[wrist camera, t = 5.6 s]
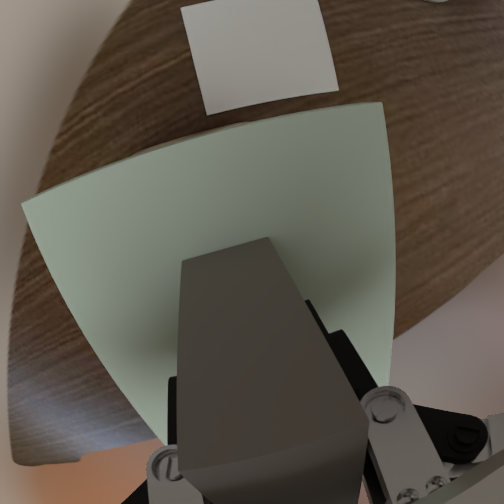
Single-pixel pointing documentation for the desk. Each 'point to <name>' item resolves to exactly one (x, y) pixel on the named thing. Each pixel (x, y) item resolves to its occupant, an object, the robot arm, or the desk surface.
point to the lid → (239, 293)
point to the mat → (258, 51)
